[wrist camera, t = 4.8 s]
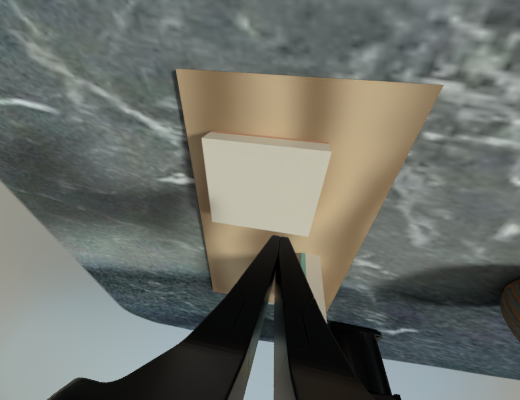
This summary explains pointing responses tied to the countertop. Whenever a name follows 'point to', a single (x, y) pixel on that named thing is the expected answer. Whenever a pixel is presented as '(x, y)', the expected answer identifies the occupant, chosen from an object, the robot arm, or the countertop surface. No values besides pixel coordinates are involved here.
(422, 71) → the countertop surface
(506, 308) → the vase
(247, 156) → the terracotta tile
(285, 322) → the robot arm
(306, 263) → the teal tile
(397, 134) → the cork mat
